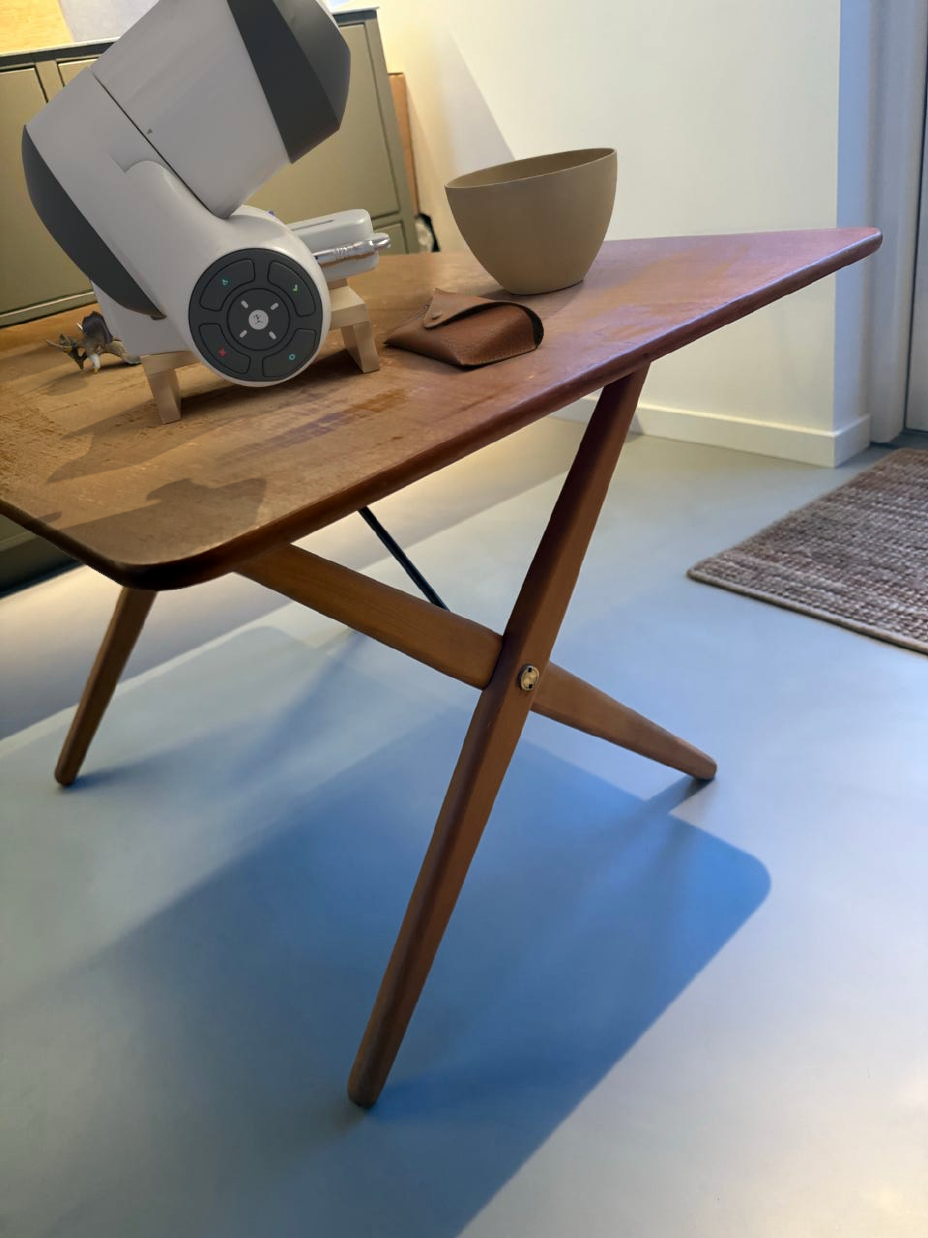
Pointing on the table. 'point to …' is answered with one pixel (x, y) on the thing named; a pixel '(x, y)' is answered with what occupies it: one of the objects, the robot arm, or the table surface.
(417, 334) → the sunglasses case
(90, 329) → the eagle figurine
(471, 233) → the flower pot
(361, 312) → the shelf
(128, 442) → the table surface
